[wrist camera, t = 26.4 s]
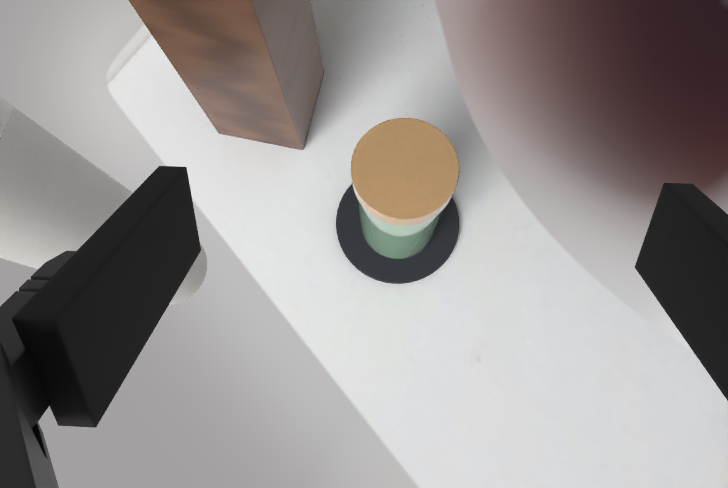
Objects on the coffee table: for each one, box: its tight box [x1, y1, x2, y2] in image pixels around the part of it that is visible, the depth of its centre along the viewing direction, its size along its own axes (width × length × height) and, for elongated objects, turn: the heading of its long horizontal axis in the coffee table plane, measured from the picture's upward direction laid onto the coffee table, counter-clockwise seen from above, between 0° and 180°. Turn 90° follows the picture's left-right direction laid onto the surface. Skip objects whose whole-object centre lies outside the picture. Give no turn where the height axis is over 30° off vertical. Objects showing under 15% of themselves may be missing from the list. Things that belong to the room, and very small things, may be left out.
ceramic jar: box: [351, 118, 459, 259], centre depth 37 cm, size 6×6×12 cm
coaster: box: [336, 184, 459, 284], centre depth 43 cm, size 10×10×1 cm
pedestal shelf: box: [129, 0, 324, 150], centre depth 36 cm, size 8×8×20 cm
